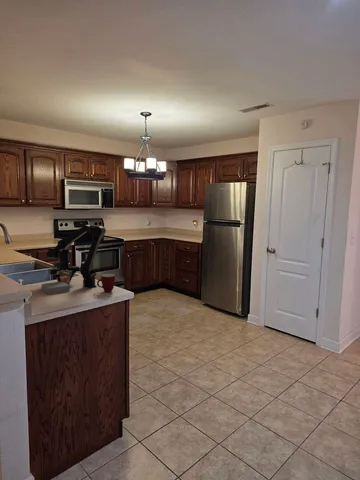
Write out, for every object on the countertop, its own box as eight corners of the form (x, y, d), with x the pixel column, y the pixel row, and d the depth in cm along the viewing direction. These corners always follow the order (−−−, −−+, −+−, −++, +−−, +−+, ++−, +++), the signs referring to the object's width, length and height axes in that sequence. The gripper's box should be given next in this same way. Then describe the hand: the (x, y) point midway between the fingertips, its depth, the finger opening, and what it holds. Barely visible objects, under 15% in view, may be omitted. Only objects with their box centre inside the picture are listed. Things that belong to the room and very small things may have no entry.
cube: (66, 283, 204) (66, 276, 203) (69, 285, 200) (69, 277, 199) (58, 284, 200) (58, 277, 200) (61, 286, 196) (61, 278, 196)
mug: (96, 293, 183) (96, 277, 181) (97, 290, 190) (97, 274, 189) (115, 293, 185) (115, 276, 184) (114, 289, 193) (115, 273, 192)
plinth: (61, 286, 195) (61, 281, 195) (69, 291, 186) (69, 285, 186) (41, 289, 187) (41, 284, 187) (48, 294, 178) (48, 288, 178)
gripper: (73, 256, 210) (73, 278, 212) (44, 258, 198) (44, 282, 200) (80, 258, 202) (80, 282, 204) (50, 261, 190) (51, 286, 191)
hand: (64, 283), depth 200 cm, fingers open, 6 cm apart
